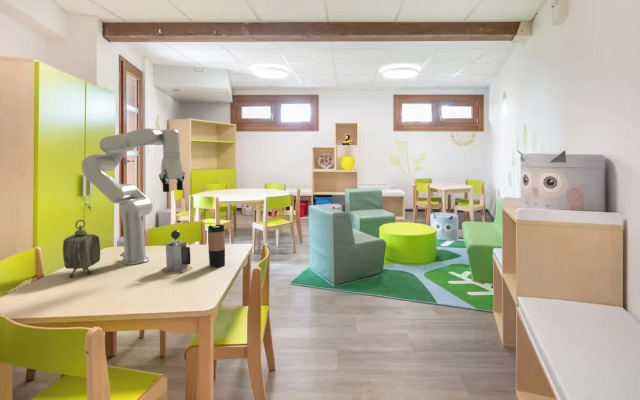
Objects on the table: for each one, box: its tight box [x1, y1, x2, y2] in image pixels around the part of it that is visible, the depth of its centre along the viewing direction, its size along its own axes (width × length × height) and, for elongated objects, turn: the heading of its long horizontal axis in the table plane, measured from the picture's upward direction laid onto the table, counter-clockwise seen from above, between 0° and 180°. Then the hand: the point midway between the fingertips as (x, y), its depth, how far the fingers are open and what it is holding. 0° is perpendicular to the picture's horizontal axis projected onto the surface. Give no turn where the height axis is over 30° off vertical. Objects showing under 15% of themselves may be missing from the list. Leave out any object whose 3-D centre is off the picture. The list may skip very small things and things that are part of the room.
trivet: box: [160, 265, 193, 275], centre depth 193 cm, size 14×14×1 cm
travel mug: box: [207, 224, 226, 268], centre depth 198 cm, size 8×8×20 cm
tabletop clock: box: [62, 219, 101, 278], centre depth 186 cm, size 14×9×25 cm, turn 1°
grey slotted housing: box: [164, 240, 192, 272], centre depth 192 cm, size 12×9×13 cm
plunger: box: [170, 229, 181, 244], centre depth 192 cm, size 6×6×15 cm
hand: (173, 190), depth 200 cm, fingers open, 9 cm apart
